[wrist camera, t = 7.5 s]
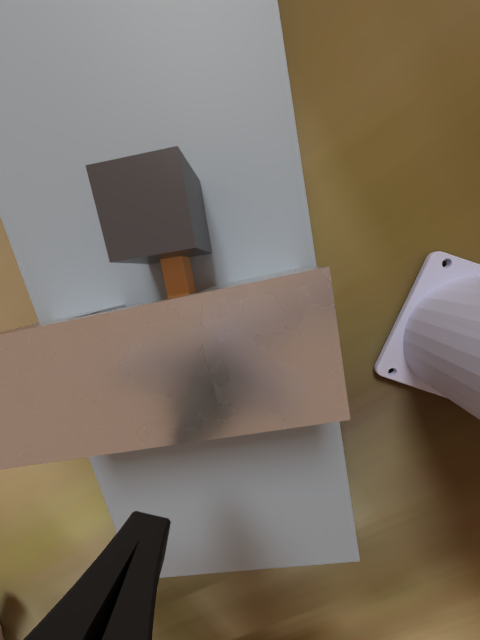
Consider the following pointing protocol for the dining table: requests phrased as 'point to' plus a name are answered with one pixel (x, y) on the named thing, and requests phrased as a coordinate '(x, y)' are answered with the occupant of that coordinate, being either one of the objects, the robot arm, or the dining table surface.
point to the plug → (152, 213)
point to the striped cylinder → (0, 635)
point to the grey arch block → (174, 370)
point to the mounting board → (208, 270)
